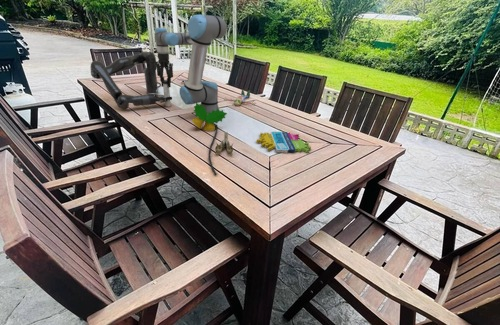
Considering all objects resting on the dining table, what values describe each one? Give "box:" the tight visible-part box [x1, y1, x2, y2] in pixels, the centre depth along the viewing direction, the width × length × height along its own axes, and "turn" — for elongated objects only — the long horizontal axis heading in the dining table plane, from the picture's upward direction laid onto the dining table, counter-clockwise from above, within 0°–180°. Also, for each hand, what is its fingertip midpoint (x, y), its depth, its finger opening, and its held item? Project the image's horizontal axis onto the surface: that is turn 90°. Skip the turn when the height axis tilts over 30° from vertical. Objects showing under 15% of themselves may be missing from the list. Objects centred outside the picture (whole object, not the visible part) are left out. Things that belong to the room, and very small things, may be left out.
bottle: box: [162, 84, 172, 107], centre depth 195 cm, size 4×4×18 cm
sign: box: [256, 131, 312, 154], centre depth 152 cm, size 26×2×30 cm
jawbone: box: [214, 131, 234, 156], centre depth 136 cm, size 9×15×10 cm
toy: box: [223, 89, 257, 106], centre depth 219 cm, size 28×7×30 cm
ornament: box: [191, 102, 228, 132], centre depth 162 cm, size 21×8×15 cm, turn 105°
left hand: (170, 97), depth 198 cm, fingers closed on bottle, 4 cm apart
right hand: (166, 86), depth 192 cm, fingers closed on lid, 4 cm apart
